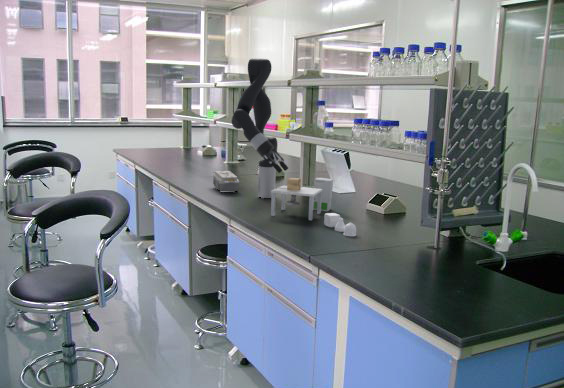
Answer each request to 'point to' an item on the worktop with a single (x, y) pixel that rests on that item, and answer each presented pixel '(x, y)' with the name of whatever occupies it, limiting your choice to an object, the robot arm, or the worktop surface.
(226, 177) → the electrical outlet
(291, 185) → the tan block with stem
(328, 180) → the skincare box
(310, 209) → the white slotted table
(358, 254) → the worktop surface
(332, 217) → the container set
